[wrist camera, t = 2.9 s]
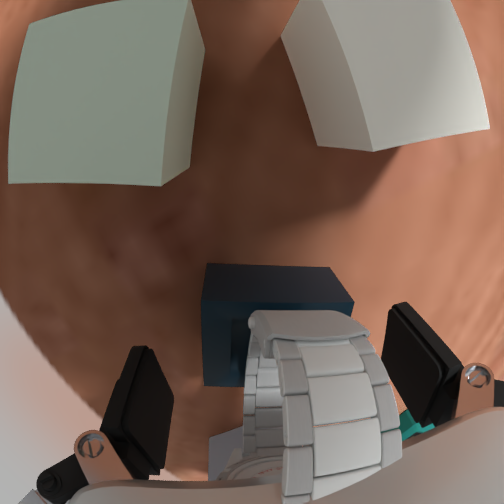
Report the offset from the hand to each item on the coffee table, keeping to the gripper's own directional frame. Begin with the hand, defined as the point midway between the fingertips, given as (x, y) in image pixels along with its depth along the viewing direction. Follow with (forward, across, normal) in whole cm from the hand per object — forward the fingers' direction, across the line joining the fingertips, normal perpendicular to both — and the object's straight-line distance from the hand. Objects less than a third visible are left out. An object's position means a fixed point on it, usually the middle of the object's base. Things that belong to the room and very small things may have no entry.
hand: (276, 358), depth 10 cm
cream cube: (+4, -5, -10) cm, 12 cm away
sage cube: (+4, +4, -10) cm, 11 cm away
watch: (+4, 0, 0) cm, 4 cm away
